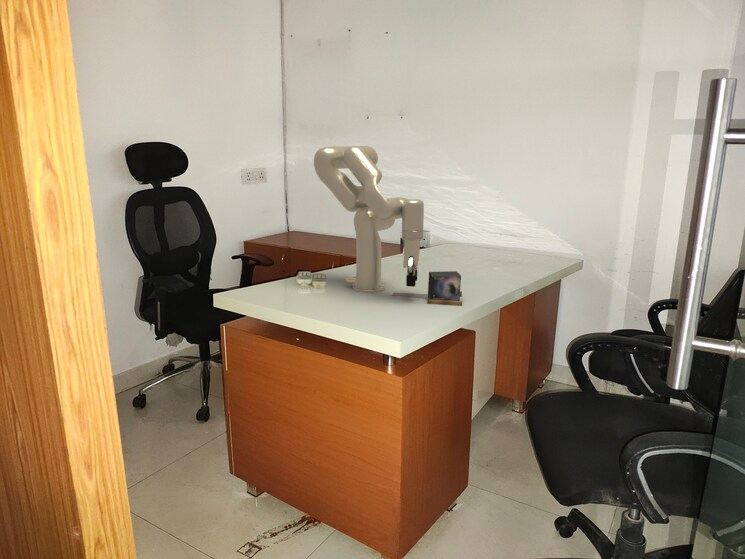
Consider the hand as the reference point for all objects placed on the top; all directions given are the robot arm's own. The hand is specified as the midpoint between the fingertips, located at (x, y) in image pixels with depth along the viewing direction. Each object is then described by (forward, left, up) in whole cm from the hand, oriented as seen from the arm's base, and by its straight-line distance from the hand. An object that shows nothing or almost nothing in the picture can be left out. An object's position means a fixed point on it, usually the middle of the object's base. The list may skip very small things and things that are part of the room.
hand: (411, 283), depth 187 cm
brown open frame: (+12, 0, -6) cm, 14 cm away
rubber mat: (-1, 0, -6) cm, 6 cm away
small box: (+12, 0, -7) cm, 13 cm away
